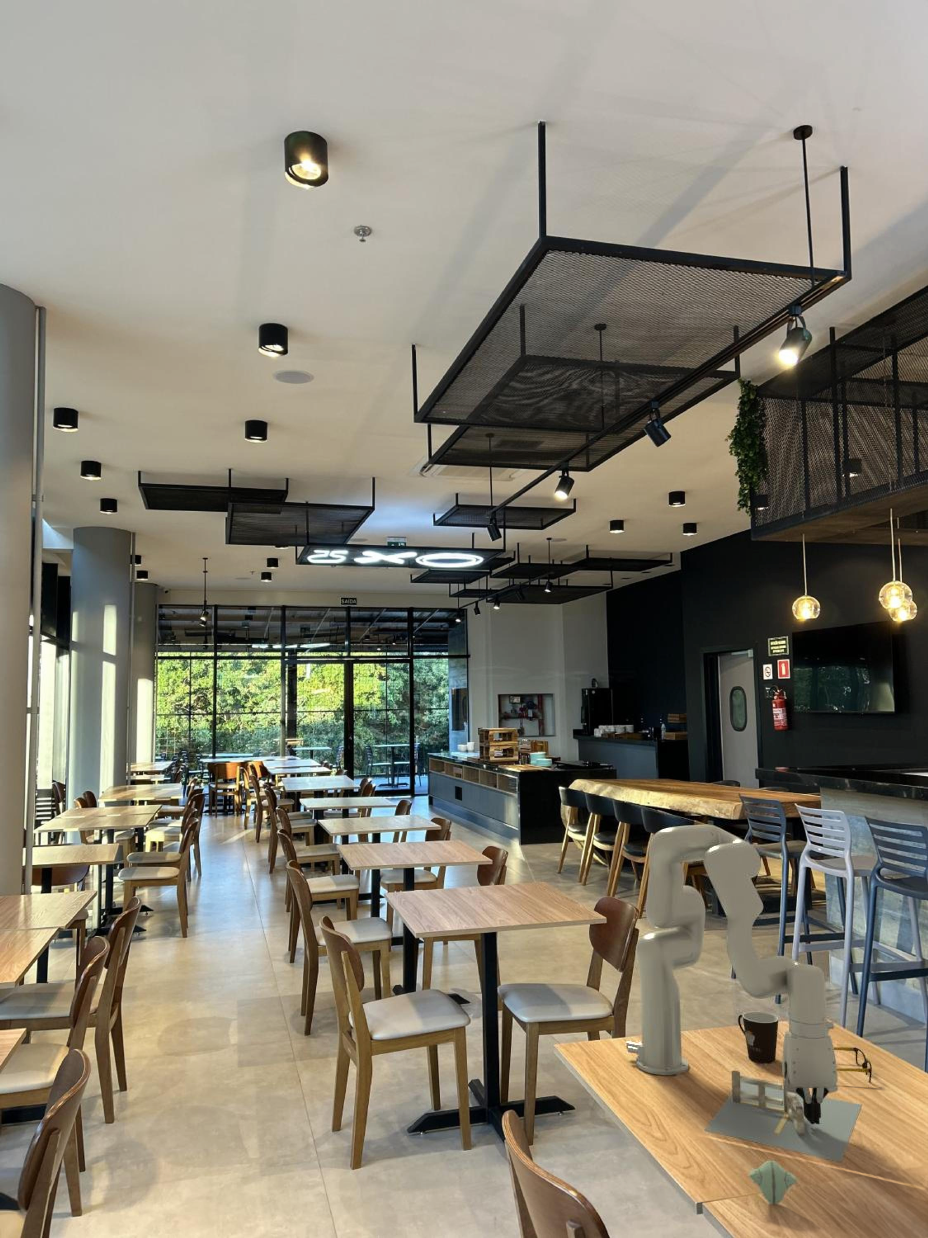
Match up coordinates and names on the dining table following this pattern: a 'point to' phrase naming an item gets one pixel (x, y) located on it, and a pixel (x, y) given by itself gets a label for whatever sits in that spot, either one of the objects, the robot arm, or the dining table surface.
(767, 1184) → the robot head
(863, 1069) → the eyeglasses
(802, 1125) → the fence gate
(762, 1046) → the coffee mug
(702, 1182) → the dining table surface
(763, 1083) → the fence section
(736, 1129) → the card
